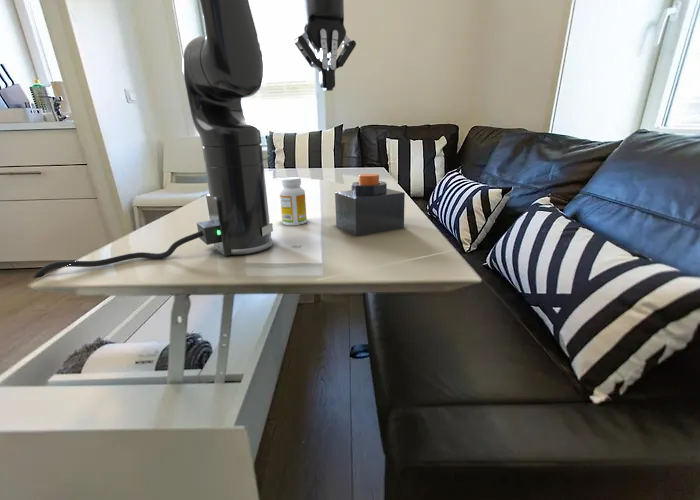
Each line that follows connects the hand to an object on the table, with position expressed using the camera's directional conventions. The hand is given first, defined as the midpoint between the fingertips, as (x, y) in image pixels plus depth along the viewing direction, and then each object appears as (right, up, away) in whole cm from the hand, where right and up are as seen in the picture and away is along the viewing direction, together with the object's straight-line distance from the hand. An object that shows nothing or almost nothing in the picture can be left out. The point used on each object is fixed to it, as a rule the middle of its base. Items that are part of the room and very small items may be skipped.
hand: (327, 90), depth 74 cm
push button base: (+9, -28, 0) cm, 30 cm away
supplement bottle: (-8, -27, +5) cm, 29 cm away
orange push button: (+8, -20, -3) cm, 22 cm away
